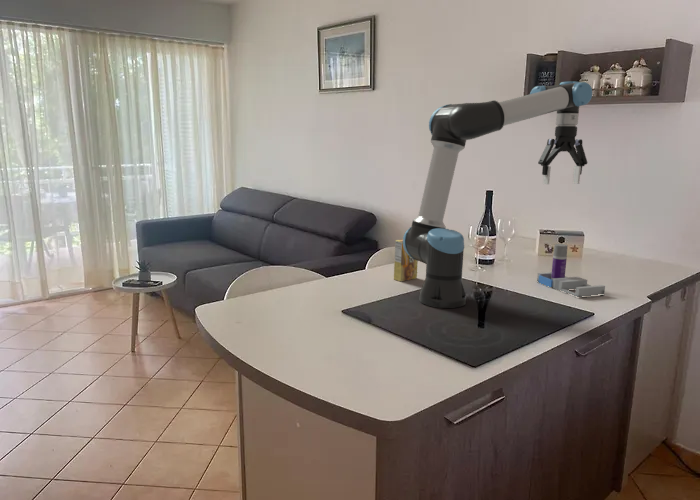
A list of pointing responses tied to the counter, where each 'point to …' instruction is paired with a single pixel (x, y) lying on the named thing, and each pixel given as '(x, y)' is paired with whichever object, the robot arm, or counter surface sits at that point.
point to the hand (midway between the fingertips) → (561, 183)
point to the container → (559, 261)
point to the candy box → (404, 263)
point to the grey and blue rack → (570, 285)
